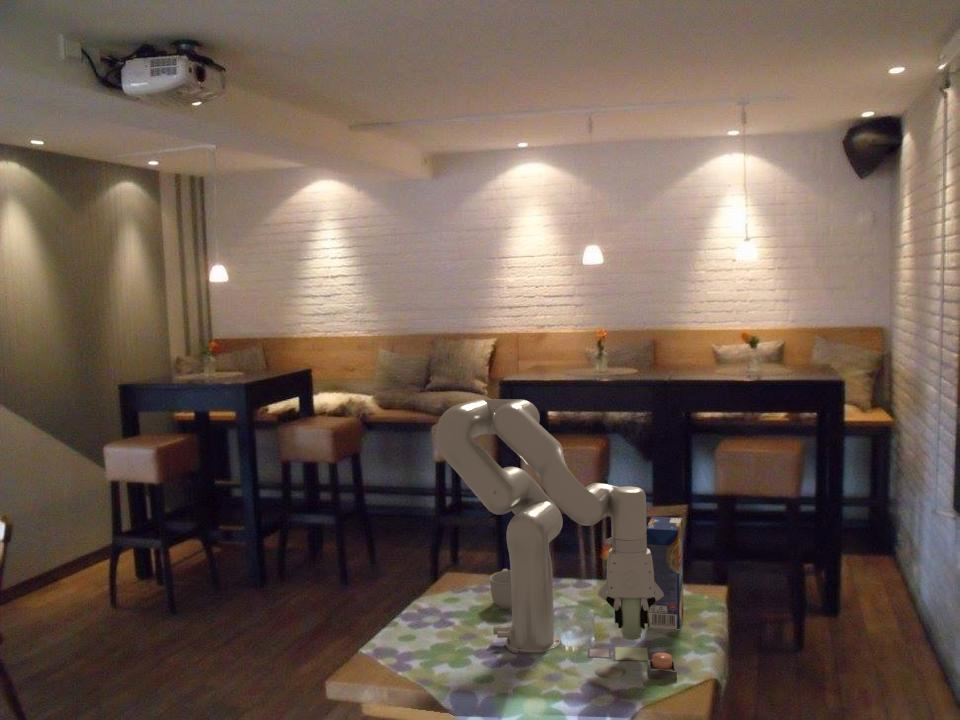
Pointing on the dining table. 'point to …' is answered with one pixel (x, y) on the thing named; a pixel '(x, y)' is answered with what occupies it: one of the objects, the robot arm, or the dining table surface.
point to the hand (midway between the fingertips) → (631, 625)
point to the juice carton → (666, 571)
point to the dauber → (631, 618)
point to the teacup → (501, 588)
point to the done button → (662, 661)
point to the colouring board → (630, 655)
